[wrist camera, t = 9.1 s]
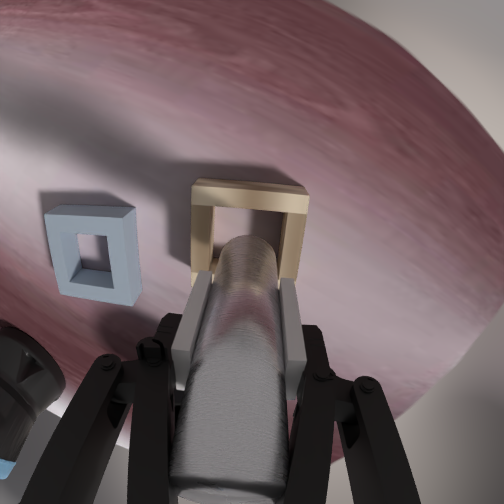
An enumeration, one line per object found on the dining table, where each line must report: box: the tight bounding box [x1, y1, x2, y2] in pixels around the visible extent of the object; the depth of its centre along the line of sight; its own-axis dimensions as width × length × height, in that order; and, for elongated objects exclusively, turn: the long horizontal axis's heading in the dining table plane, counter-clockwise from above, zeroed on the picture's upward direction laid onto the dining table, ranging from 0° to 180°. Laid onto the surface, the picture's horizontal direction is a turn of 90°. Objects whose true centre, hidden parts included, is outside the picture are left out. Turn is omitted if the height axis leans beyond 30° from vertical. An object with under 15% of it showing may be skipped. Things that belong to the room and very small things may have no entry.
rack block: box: [191, 178, 310, 288], centre depth 26 cm, size 9×9×3 cm
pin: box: [169, 235, 290, 504], centre depth 14 cm, size 4×4×16 cm
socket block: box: [44, 205, 142, 306], centre depth 27 cm, size 9×9×3 cm
